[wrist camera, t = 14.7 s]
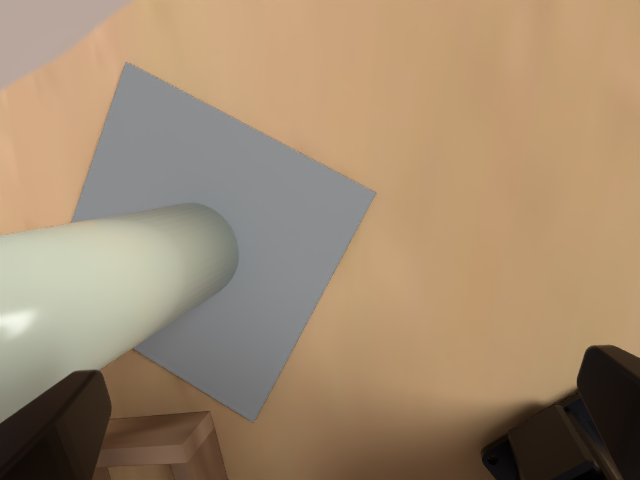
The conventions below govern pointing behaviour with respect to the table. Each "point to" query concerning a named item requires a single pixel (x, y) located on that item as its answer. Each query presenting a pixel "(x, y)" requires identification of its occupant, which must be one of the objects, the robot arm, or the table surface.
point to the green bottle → (102, 290)
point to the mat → (243, 217)
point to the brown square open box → (164, 445)
